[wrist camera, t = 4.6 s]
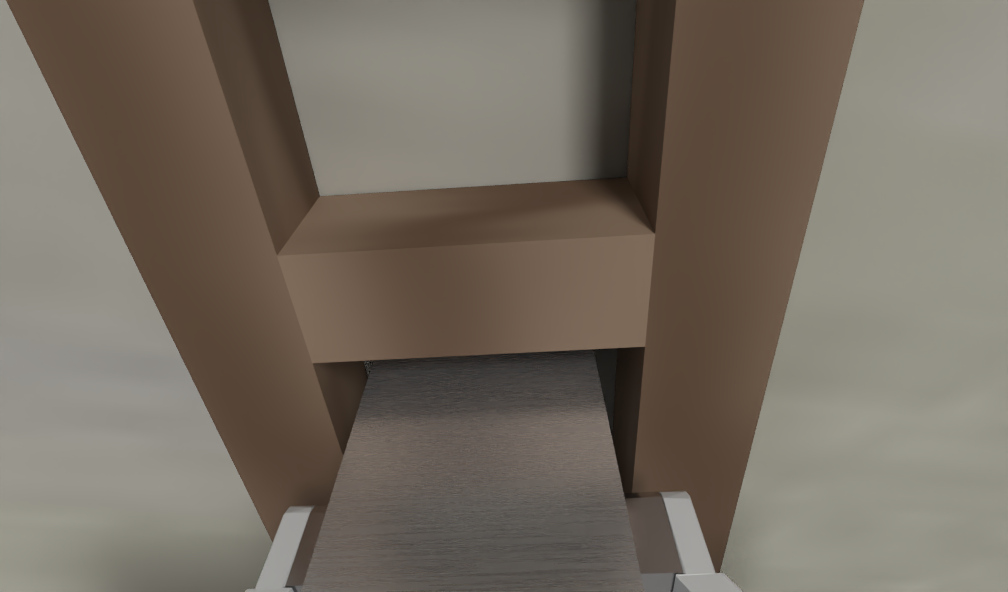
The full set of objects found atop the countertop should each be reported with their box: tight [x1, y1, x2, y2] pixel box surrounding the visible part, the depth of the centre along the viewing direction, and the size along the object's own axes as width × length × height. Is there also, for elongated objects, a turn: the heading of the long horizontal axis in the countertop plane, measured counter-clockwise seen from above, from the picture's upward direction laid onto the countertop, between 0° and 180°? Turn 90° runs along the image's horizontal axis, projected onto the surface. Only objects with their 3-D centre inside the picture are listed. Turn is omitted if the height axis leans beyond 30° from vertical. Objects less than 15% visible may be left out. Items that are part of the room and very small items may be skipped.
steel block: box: [301, 349, 644, 592], centre depth 11 cm, size 5×5×8 cm
